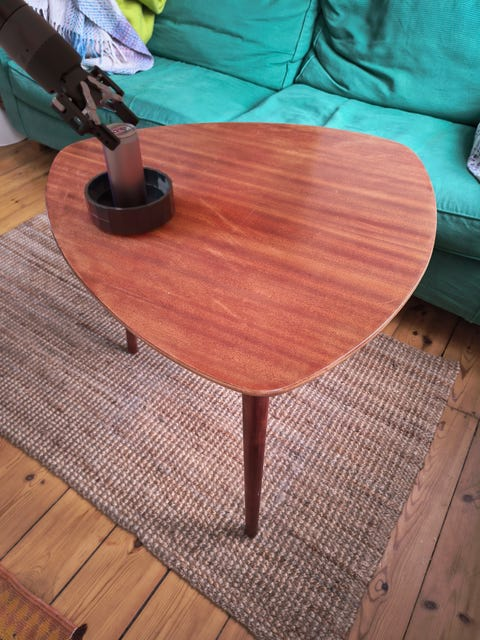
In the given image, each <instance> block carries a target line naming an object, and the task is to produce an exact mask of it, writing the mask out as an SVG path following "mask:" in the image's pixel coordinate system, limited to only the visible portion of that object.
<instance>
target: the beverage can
mask: <svg viewBox="0 0 480 640" xmlns="http://www.w3.org/2000/svg"><path fill="white" fill-rule="evenodd" d="M105 126H106V127H107V128H108V129H109V130H111V131H112V132H113V133H114V134H115V135H116V136H117V137H118V138H119V139H120V141H121V143H120V144H119V145H118V146H117V148H116V149H115V150H114V151H111V150H110V149H109V148H107V147H106V146H105V145H104V144H102V143H101V146H102V151H103V156H104V161H105V165H106V171H108V176H109V181H110V186H111V191H112V196H113V201H114V206H115V208H131V207H138V206H142V205H146V204H148V199H147V192H146V185H145V178H144V171H143V167H144V165H143V157H142V151H141V144H140V137H139V133H138V131H137V126H134V125H132V124H129V123H124V122H113V123H108V124H107V125H106V124H105Z"/></svg>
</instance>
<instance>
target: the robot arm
mask: <svg viewBox="0 0 480 640" xmlns="http://www.w3.org/2000/svg"><path fill="white" fill-rule="evenodd" d="M0 48H1V49H2V50H3V51H4V52H5V54H6V55H7V56H8V57H9V58H10V59H11V60H12V61H13V62H14V63H15V64H16V65H17V66H18V67H20V69H21V70H22V71H24V72H25V73H26V75H28V76H29V77H30V78H31V79H32V80H33V81H34V82H35V83H36V84H38V85H39V86H40V87H41V88H42V89H43V90H44V91H45V92H46V93H47V94H48V95H51V96H53V95H55V96H54V97H53V98H52V100H51V101H50V103H49V106H50V108H51V109H52V110H53V111H54V112H55V113H56V114H57V115H58V116H59V117H60V118H61V119H62V120H63V121H64V122H65V123H66V124H67V125H68V126H69V127H71V129H72V130H73V131H75V133H76V134H77V135H79V136H80V137H84V136H85V135H87V134H88V135H93V136H94V137H95V139H97V140H98V141H99V142H100V143H101V145H102V144H104V145H105V146H106V147H107V148H109V149H110V150H111V151H114V150H115V149H116V148H117V146H118V145H119V144H120V143H121V141H120V139H119V138H118V137H117V136H116V135H115V134H114V133H113V132H112V131H111V130H109V129H108V128H107V127H106V124H105V123H103V122H101V120H100V118H99V116H98V114H97V107H98V108H99V109H103V108H105V109H107V110H110V111H112V112H114V114H115V115H116V117H118V119H120V120H121V122H122V123H129V124H132V125H134V126H135V127H137V125H139V123H140V121H141V120H140V118H139V117H138V116H137V115H136V114H135V113H134V112H133V111H132V110H131V109H130V107H129V106H128V105H127V104H126V103H125V102H124V101H125V100H124V98H123V97H124V95H125V91H124V90H123V89H122V88H121V87H120V86H119V85H118V84H117V83H116V82H115V81H114V80H113V79H112V78H111V77H110V76H109V75H108V74H107V73H106V72H104V70H102V68H101V67H99V66H98V65H96V64H94V65H93V67H92V68H91V69H90V70H89V71H87V70H86V69H85V68H84V67H82V62H83V57H82V55H81V54H80V52H78V51H77V50H76V48H75V47H73V46H72V45H71V44H70V43H69V41H67V39H66V38H65V37H64V36H63V35H62V34H61V33H60V32H59V31H57V30H56V28H54V26H53V25H52V24H51V23H49V21H48V20H47V19H46V18H44V16H42V14H40V13H38V11H36V10H35V9H34V8H33V7H32V6H31V5H30V4H29V3H28V2H27V1H25V0H0ZM112 90H113V91H112ZM75 118H76V119H77V121H78V122H80V124H79V123H78V122H77V121H76V119H75Z"/></svg>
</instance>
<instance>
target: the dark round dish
mask: <svg viewBox="0 0 480 640" xmlns="http://www.w3.org/2000/svg"><path fill="white" fill-rule="evenodd" d="M143 171H144V178H145V185H146V192H147V199H148V204H146V205H142V206H138V207H131V208H115V206H114V201H113V196H112V191H111V186H110V181H109V176H108V171H107V170H106V171H103V172H100V173H98V174H96V175H95V176H93V177H92V178H90V179H88V182H87V183H86V184H85V186H84V190H83V196H84V200H85V203H86V207H87V212H88V216H89V219H90V221H91V222H92V225H93V226H95V228H97V229H98V230H100V231H102V232H104V233H108V234H111V235H118V236H135V235H137V236H138V235H143V234H147V233H151V232H154V231H156V230H158V229H160V228H162V227H164V226H166V225H167V224H168V223H169V222H170V221H172V219H173V217H174V215H175V213H176V203H175V196H174V185H173V180H172V179H171V177H170V176H169V175H168V174H167V173H166V172H164V171H162V170H160V169H157V168H154V167H149V166H143Z"/></svg>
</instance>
